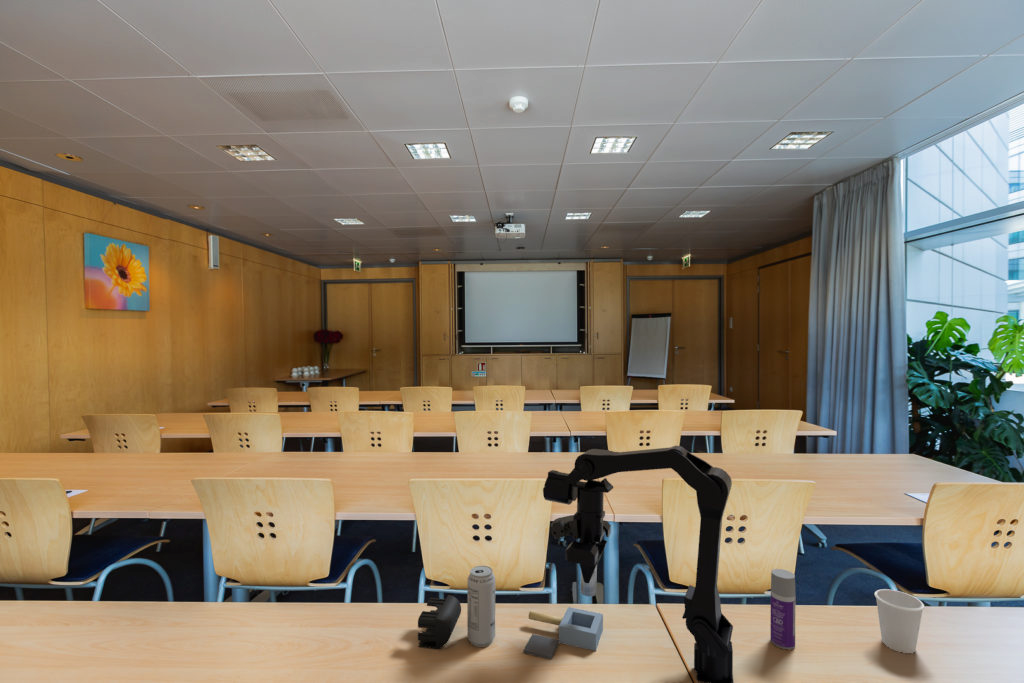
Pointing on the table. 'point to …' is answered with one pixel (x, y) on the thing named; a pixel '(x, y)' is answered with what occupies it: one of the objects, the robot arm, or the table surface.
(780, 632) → the container
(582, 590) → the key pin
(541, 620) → the blue-grey block with rod
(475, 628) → the energy drink can
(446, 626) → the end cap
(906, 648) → the dixie cup
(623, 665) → the table surface
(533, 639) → the mat
